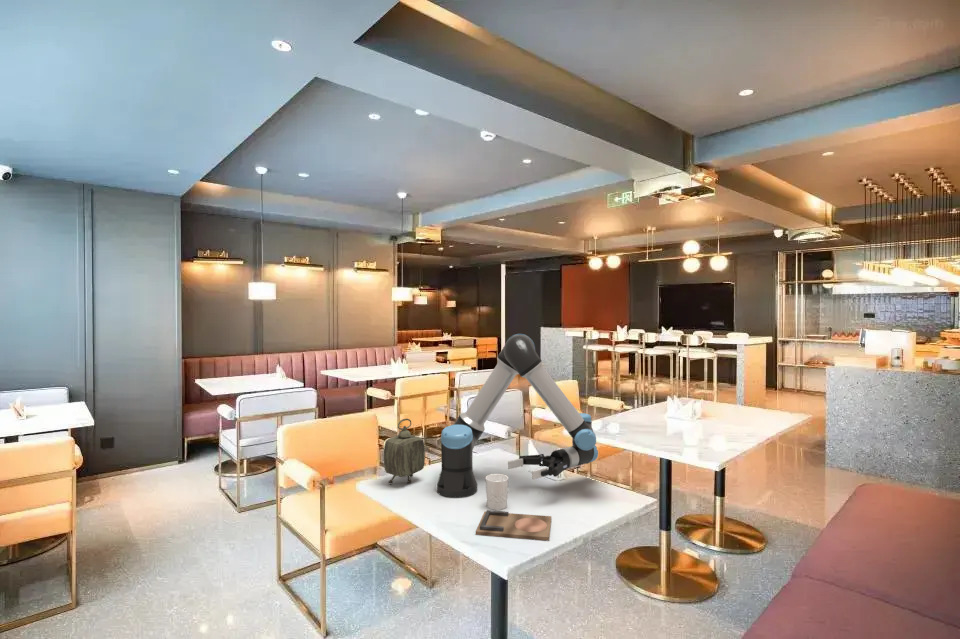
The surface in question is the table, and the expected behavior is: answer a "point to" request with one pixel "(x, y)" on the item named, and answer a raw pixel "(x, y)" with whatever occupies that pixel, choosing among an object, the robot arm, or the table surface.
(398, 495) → the table surface
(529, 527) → the walnut board
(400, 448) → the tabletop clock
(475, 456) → the table surface
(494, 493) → the white cup
